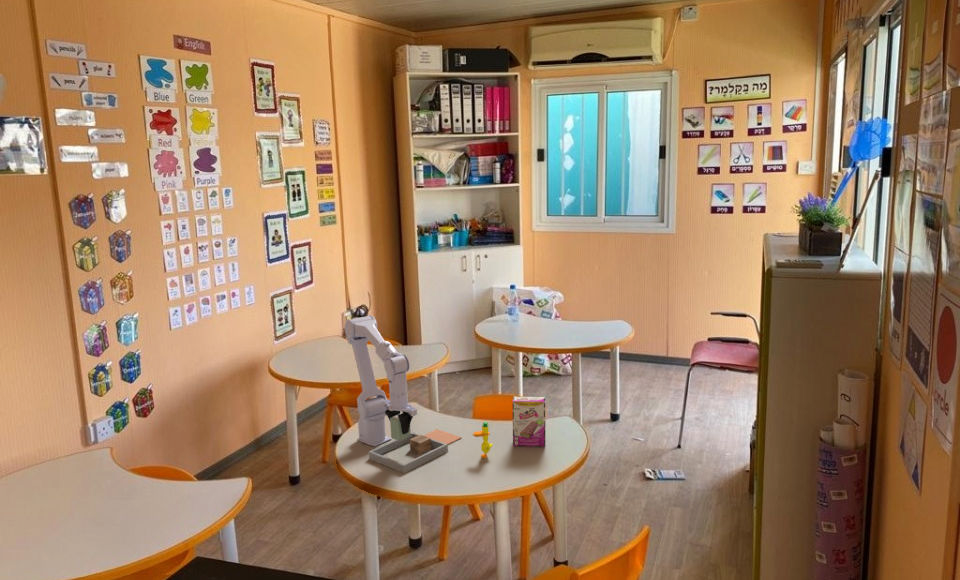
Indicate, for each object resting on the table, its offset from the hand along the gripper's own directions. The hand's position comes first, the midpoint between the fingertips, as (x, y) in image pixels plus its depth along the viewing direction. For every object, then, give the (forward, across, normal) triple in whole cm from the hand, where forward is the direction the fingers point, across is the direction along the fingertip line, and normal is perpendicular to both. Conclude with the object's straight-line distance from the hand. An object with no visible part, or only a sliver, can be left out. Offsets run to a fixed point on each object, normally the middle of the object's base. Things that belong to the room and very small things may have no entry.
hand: (400, 431), depth 227 cm
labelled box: (+2, 0, 0) cm, 2 cm away
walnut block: (+10, 0, +8) cm, 13 cm away
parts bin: (+9, 0, +3) cm, 10 cm away
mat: (+9, -1, +19) cm, 21 cm away
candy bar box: (+10, +27, +34) cm, 44 cm away
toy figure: (+10, +21, +17) cm, 29 cm away
